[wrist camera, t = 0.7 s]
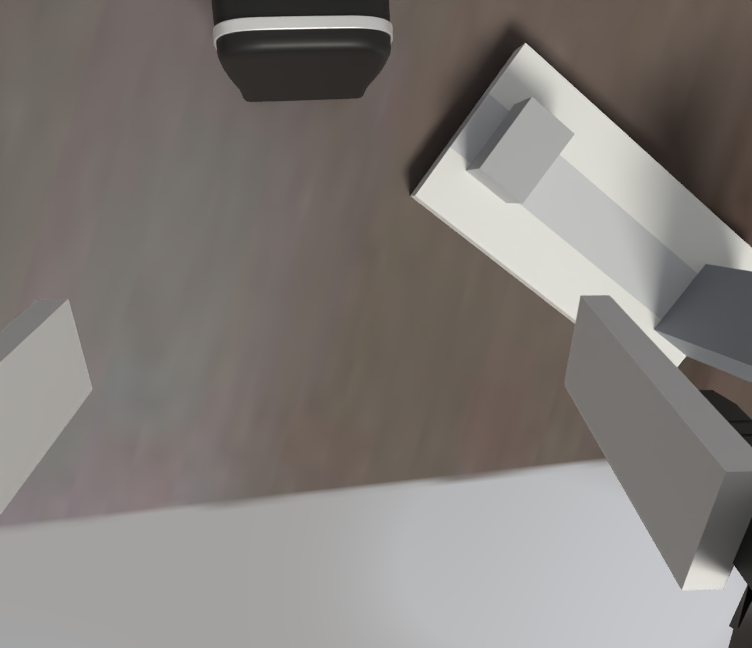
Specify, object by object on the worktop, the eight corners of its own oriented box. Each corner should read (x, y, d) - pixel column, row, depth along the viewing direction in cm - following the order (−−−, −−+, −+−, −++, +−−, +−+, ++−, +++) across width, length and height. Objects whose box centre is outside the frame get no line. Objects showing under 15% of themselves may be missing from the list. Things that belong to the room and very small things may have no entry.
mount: (515, 49, 32) (644, -40, 20) (746, 257, 37) (964, 286, 25) (410, 195, 33) (472, 194, 21) (647, 380, 38) (811, 465, 26)
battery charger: (363, 24, 31) (398, -72, 20) (367, 99, 32) (403, 47, 21) (232, 27, 30) (193, -72, 19) (239, 103, 31) (206, 51, 20)
